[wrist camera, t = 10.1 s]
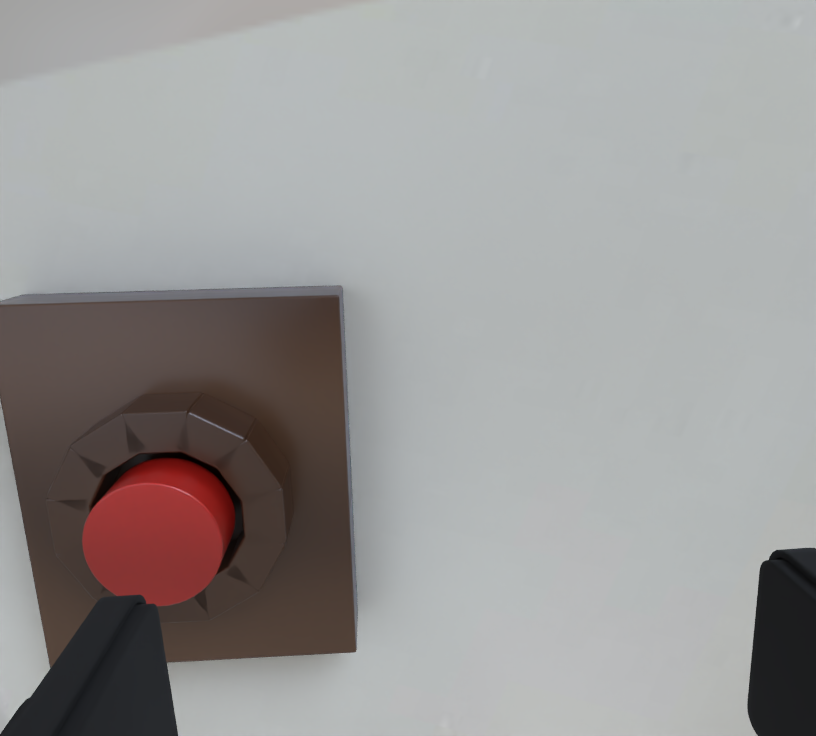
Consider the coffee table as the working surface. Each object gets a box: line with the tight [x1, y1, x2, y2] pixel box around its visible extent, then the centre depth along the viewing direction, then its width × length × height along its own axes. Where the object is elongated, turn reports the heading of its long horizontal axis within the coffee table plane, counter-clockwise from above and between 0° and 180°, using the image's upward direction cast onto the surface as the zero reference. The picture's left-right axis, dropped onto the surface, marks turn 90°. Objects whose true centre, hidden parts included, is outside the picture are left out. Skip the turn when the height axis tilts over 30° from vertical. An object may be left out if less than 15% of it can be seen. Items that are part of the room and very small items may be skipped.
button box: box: [0, 286, 358, 668], centre depth 20 cm, size 12×10×4 cm
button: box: [82, 458, 235, 606], centre depth 18 cm, size 4×4×2 cm
